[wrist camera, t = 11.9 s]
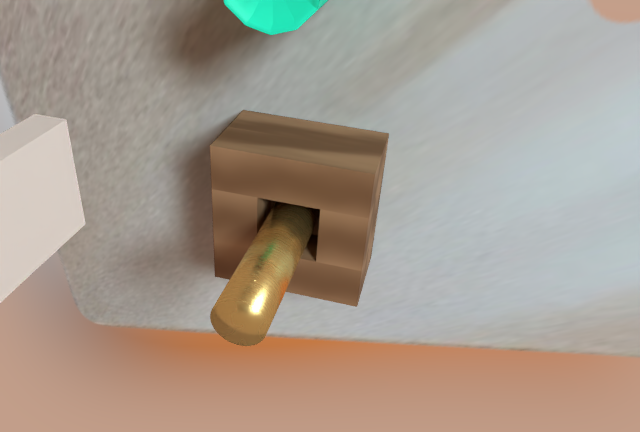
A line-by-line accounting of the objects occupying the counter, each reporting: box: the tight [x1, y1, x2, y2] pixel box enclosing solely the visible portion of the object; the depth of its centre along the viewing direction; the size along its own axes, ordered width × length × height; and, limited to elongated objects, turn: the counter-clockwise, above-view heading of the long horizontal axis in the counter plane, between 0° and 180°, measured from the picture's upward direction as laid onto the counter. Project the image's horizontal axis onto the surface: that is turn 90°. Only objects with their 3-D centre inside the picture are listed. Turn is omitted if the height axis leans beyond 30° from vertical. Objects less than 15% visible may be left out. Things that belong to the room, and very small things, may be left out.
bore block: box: [210, 110, 389, 307], centre depth 46 cm, size 12×12×7 cm
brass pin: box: [210, 201, 320, 346], centre depth 41 cm, size 4×4×14 cm
